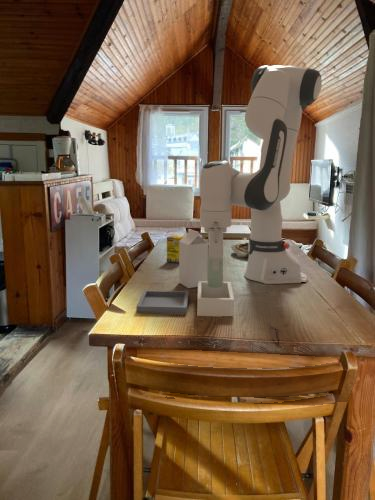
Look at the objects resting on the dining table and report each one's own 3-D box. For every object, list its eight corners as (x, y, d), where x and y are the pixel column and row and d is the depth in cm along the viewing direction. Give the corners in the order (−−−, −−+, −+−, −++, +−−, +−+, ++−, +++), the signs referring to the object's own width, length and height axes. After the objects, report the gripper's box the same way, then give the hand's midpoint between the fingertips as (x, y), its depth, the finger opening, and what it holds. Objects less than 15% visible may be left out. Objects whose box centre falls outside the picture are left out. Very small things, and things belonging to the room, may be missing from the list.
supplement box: (166, 262, 165) (166, 236, 162) (172, 259, 170) (172, 234, 168) (179, 263, 163) (179, 238, 160) (185, 260, 168) (185, 235, 165)
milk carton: (188, 288, 131) (188, 233, 127) (178, 283, 137) (179, 229, 133) (206, 286, 134) (207, 231, 130) (196, 280, 140) (197, 228, 136)
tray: (188, 297, 123) (188, 291, 123) (186, 314, 110) (186, 307, 109) (144, 296, 124) (143, 290, 123) (136, 313, 110) (136, 306, 110)
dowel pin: (222, 283, 117) (222, 243, 114) (222, 287, 113) (223, 247, 110) (207, 283, 117) (207, 243, 115) (207, 287, 113) (207, 247, 110)
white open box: (229, 297, 124) (230, 281, 123) (233, 316, 108) (234, 299, 107) (198, 296, 124) (198, 281, 123) (197, 315, 108) (197, 298, 107)
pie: (291, 264, 166) (291, 252, 165) (226, 263, 166) (226, 252, 165) (277, 249, 193) (278, 239, 192) (222, 249, 194) (222, 239, 193)
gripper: (228, 225, 100) (227, 277, 104) (225, 214, 120) (224, 258, 123) (203, 226, 101) (204, 277, 104) (204, 214, 121) (204, 258, 124)
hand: (215, 267), depth 114 cm, fingers closed on dowel pin, 4 cm apart
